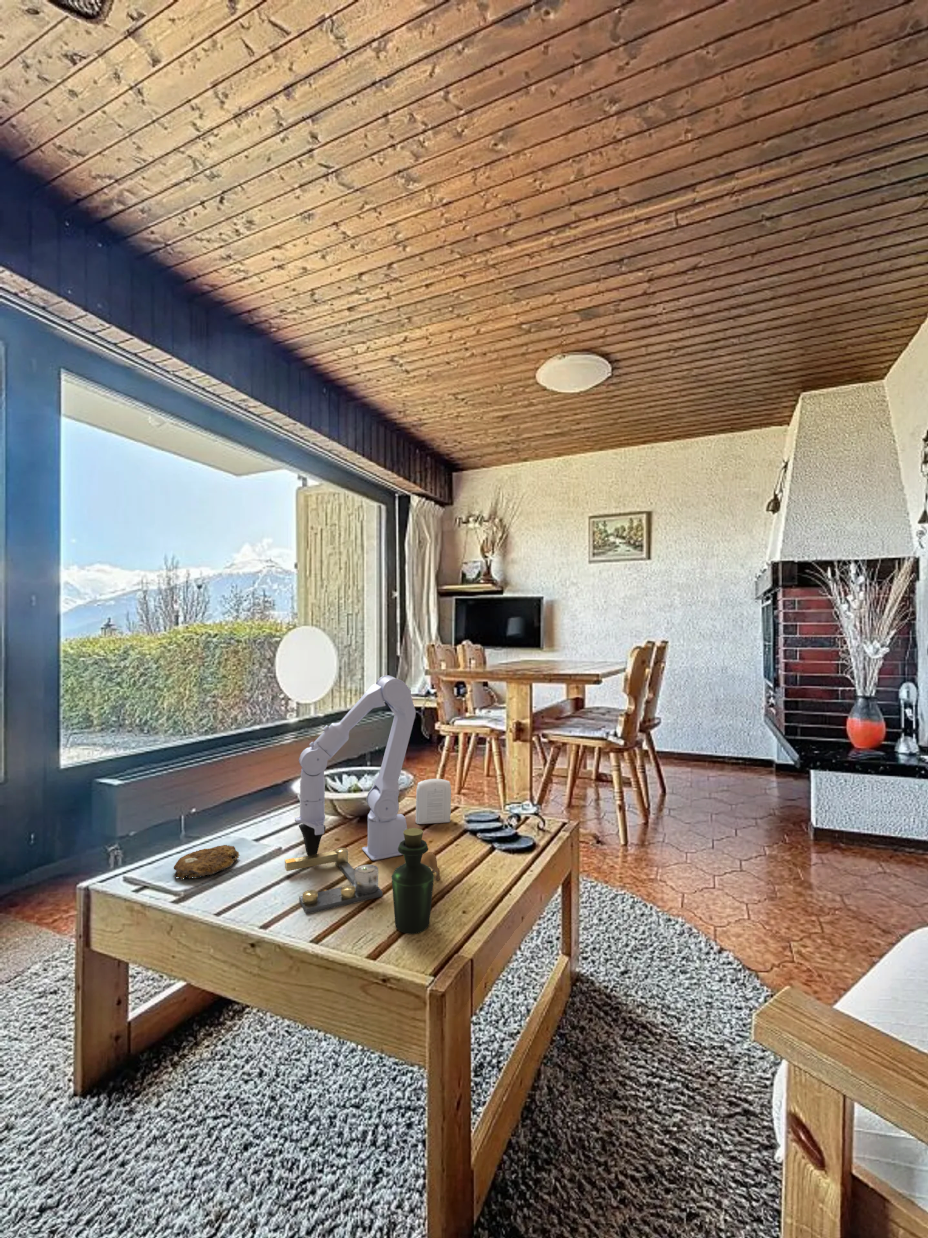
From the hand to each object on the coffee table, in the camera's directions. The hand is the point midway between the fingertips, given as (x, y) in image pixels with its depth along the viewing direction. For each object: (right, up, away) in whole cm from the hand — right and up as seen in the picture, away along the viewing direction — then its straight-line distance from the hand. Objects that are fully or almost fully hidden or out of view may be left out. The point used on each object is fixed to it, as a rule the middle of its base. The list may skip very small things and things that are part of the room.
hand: (311, 854), depth 139 cm
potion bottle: (+27, -2, -28) cm, 39 cm away
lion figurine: (+28, -2, -13) cm, 31 cm away
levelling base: (+8, -2, -13) cm, 15 cm away
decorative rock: (-23, -2, -4) cm, 24 cm away
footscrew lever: (+2, -2, -4) cm, 5 cm away
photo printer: (+28, -2, +28) cm, 40 cm away
